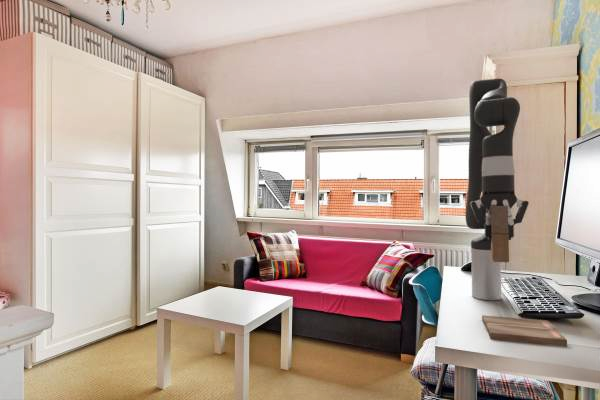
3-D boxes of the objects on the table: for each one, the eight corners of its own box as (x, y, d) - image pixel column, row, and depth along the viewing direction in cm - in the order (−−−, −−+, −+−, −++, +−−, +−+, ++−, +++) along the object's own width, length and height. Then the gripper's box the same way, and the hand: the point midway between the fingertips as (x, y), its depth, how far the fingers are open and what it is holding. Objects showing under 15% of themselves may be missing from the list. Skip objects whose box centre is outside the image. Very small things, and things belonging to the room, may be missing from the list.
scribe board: (482, 320, 102) (482, 315, 102) (547, 326, 97) (547, 320, 97) (490, 338, 89) (490, 332, 89) (567, 346, 83) (567, 339, 83)
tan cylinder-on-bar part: (492, 261, 90) (491, 190, 90) (491, 255, 100) (489, 191, 100) (509, 262, 89) (508, 190, 89) (506, 256, 98) (504, 191, 98)
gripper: (525, 174, 96) (526, 238, 96) (466, 176, 100) (467, 237, 100) (532, 172, 89) (534, 241, 88) (469, 174, 93) (471, 240, 93)
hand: (499, 239), depth 94 cm, fingers closed on tan cylinder-on-bar part, 4 cm apart
